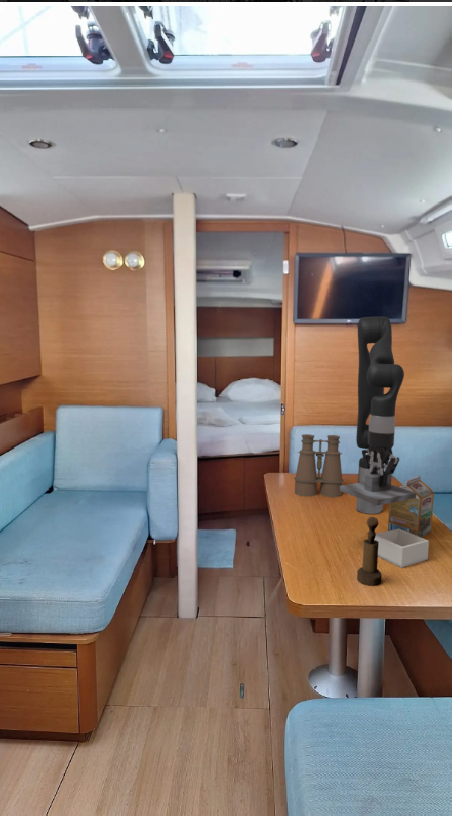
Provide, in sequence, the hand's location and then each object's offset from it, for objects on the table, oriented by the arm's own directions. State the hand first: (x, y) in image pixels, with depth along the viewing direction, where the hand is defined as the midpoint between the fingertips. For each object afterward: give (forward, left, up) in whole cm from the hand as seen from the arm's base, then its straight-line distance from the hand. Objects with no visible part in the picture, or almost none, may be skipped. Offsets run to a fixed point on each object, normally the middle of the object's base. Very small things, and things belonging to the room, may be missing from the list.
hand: (378, 485), depth 163 cm
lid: (0, 0, -3) cm, 3 cm away
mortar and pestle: (+16, +13, -22) cm, 30 cm away
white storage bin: (-4, +6, -21) cm, 23 cm away
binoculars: (-25, -56, -22) cm, 65 cm away
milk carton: (-24, -7, -22) cm, 33 cm away
